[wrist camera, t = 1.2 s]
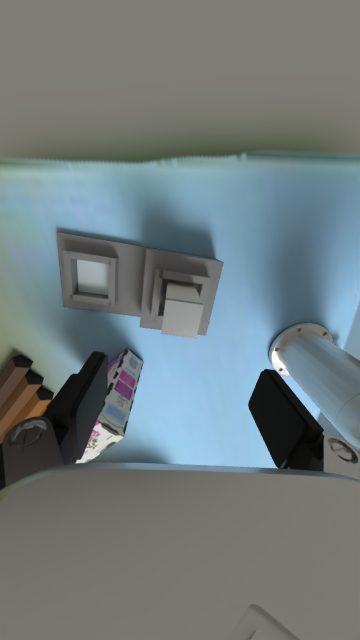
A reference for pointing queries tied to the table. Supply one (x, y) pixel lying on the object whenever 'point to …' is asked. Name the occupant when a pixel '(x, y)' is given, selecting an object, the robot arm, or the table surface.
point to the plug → (182, 310)
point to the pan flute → (20, 394)
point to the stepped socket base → (131, 278)
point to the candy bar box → (115, 404)
